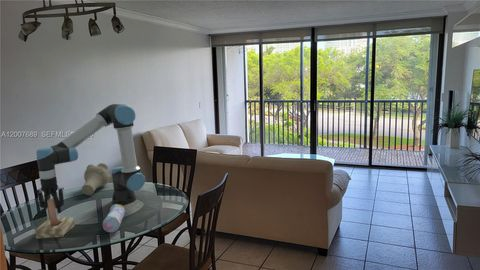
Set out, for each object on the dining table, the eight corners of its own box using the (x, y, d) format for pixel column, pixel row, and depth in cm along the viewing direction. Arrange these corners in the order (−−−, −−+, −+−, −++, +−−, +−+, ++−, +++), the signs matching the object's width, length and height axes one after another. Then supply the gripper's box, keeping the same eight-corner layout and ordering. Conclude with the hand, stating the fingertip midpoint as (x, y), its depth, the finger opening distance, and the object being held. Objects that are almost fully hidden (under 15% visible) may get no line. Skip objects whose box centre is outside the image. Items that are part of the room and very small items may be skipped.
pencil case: (110, 218, 200) (109, 203, 198) (126, 217, 201) (124, 201, 199) (103, 235, 179) (101, 218, 178) (120, 233, 181) (118, 216, 179)
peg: (60, 222, 187) (56, 197, 184) (56, 225, 183) (53, 200, 180) (52, 222, 187) (49, 198, 184) (49, 225, 183) (45, 200, 180)
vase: (98, 180, 231) (112, 160, 256) (65, 177, 230) (83, 157, 255) (99, 206, 240) (113, 185, 265) (68, 203, 239) (84, 182, 264)
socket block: (74, 225, 193) (73, 217, 192) (63, 236, 179) (62, 228, 178) (49, 226, 192) (48, 219, 191) (36, 238, 178) (34, 230, 178)
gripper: (67, 174, 184) (73, 215, 188) (35, 176, 183) (41, 217, 188) (61, 178, 177) (67, 221, 181) (27, 180, 176) (34, 222, 180)
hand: (54, 218), depth 184 cm, fingers closed on peg, 4 cm apart
